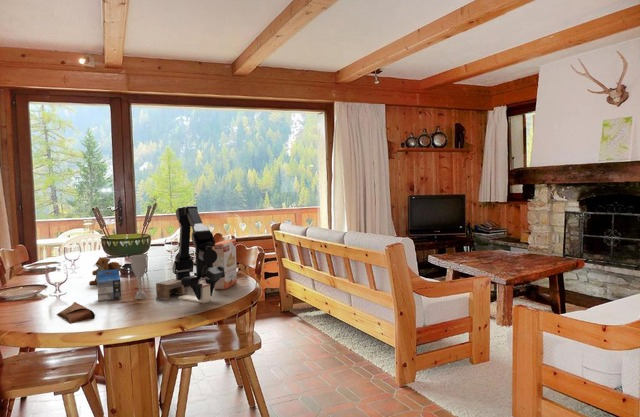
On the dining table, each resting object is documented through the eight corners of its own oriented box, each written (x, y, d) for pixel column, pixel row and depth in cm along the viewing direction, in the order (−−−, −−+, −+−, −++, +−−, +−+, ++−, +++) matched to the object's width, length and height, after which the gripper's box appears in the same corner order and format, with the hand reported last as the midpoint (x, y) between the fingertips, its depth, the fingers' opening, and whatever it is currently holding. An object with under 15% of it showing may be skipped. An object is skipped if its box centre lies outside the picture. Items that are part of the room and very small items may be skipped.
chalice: (153, 295, 196) (150, 255, 195) (142, 300, 190) (139, 257, 188) (139, 294, 198) (137, 254, 197) (128, 299, 192) (125, 257, 191)
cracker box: (225, 290, 203) (223, 244, 202) (213, 289, 204) (211, 243, 203) (238, 282, 217) (236, 239, 215) (226, 282, 218) (224, 239, 217)
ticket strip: (178, 298, 190) (177, 282, 189) (185, 296, 193) (185, 280, 193) (203, 303, 182) (202, 286, 181) (210, 301, 185) (210, 284, 185)
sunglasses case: (54, 314, 172) (63, 297, 174) (72, 319, 177) (80, 303, 179) (70, 324, 160) (80, 305, 162) (89, 329, 164) (98, 311, 166)
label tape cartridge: (98, 301, 189) (96, 272, 188) (98, 299, 192) (96, 271, 192) (121, 298, 193) (119, 270, 192) (120, 296, 196) (119, 268, 196)
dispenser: (156, 297, 194) (155, 283, 193) (173, 292, 201) (172, 279, 201) (167, 299, 190) (166, 285, 190) (184, 294, 197) (183, 280, 197)
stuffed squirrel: (87, 285, 220) (85, 258, 219) (110, 279, 233) (109, 253, 232) (102, 286, 217) (100, 259, 216) (125, 280, 230) (123, 254, 229)
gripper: (199, 266, 171) (201, 306, 172) (233, 258, 186) (235, 295, 187) (179, 263, 177) (181, 302, 178) (214, 256, 192) (216, 292, 193)
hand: (204, 298), depth 184 cm, fingers open, 6 cm apart
